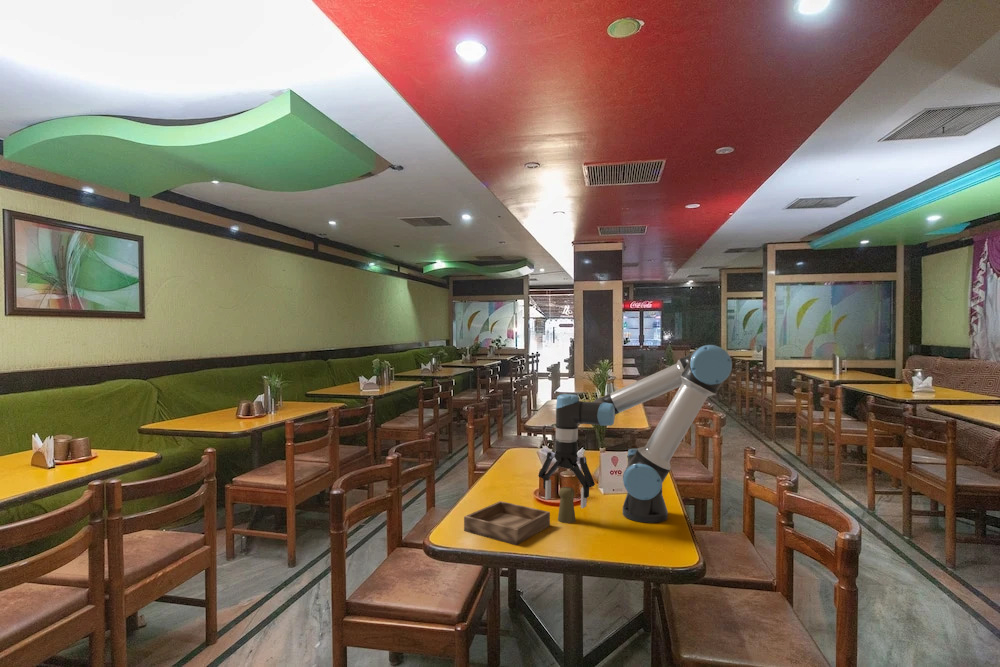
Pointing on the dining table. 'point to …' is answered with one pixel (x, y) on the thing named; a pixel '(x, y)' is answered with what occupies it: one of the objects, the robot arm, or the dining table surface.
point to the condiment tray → (507, 522)
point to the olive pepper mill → (566, 505)
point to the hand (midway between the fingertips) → (565, 502)
